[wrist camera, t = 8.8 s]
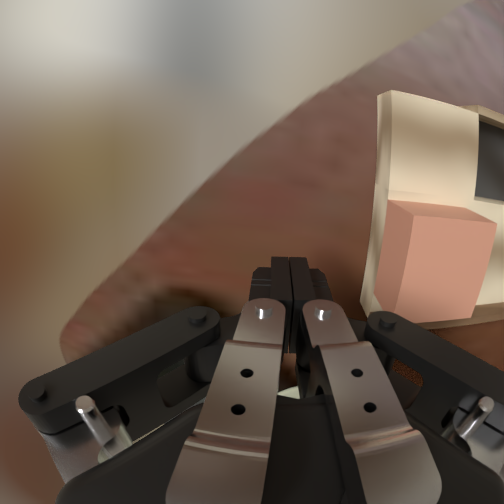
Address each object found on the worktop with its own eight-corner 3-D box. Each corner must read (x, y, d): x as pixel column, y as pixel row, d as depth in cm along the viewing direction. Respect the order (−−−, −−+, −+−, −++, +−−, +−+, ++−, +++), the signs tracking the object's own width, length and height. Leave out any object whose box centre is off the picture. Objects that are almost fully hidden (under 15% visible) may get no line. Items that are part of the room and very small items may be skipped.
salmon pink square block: (446, 290, 17) (470, 317, 13) (373, 293, 17) (390, 324, 14) (465, 207, 14) (497, 223, 11) (387, 199, 15) (414, 215, 12)
